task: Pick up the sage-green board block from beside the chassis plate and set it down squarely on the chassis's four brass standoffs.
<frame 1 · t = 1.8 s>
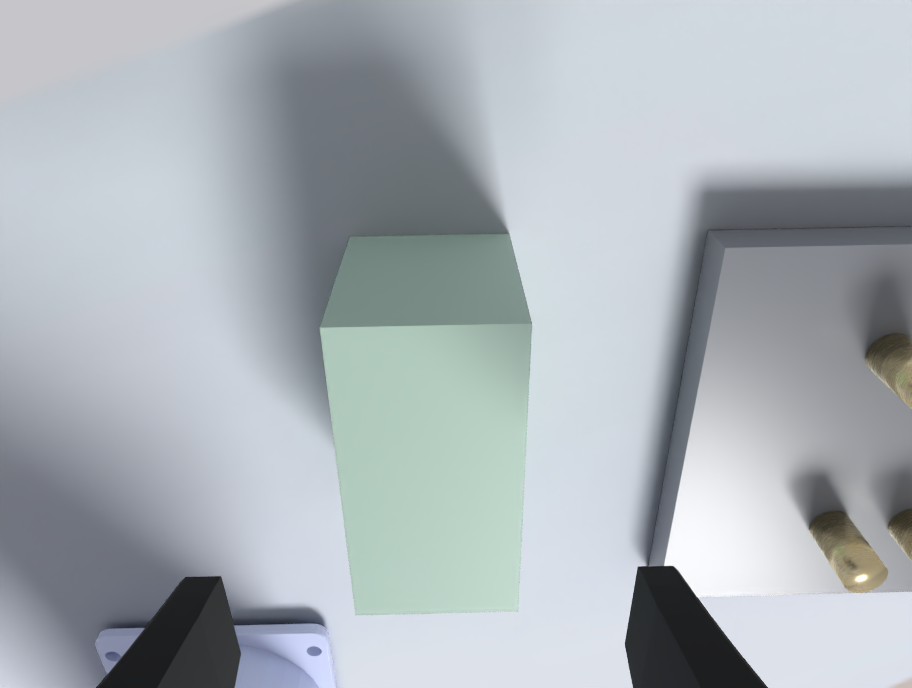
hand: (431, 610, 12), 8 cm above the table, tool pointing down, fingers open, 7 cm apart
board block: (434, 368, 19), on the table
chassis: (875, 420, 20), on the table
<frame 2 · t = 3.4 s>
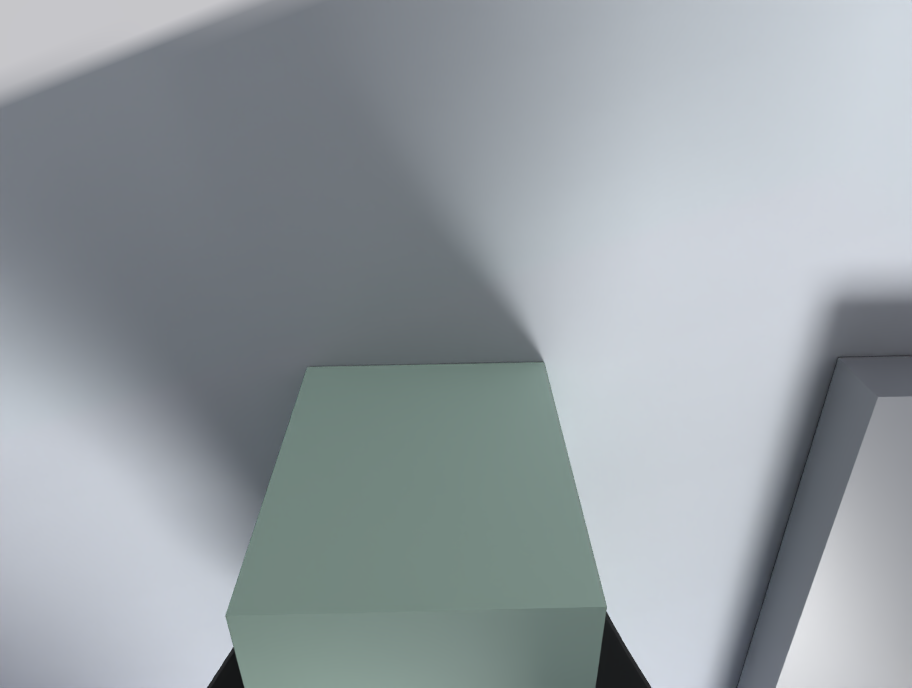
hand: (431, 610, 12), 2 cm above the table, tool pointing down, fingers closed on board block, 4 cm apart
board block: (432, 537, 13), on the table, touching gripper
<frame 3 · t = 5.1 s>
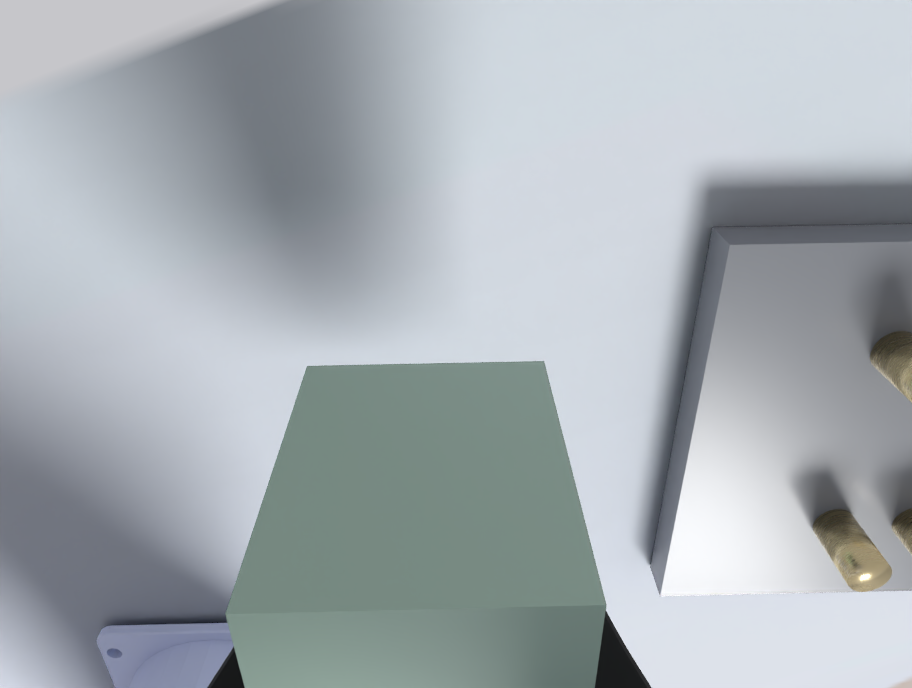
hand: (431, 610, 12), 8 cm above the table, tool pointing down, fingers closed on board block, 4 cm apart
board block: (432, 536, 13), point 6 cm above the table, touching gripper
chassis: (880, 418, 20), on the table
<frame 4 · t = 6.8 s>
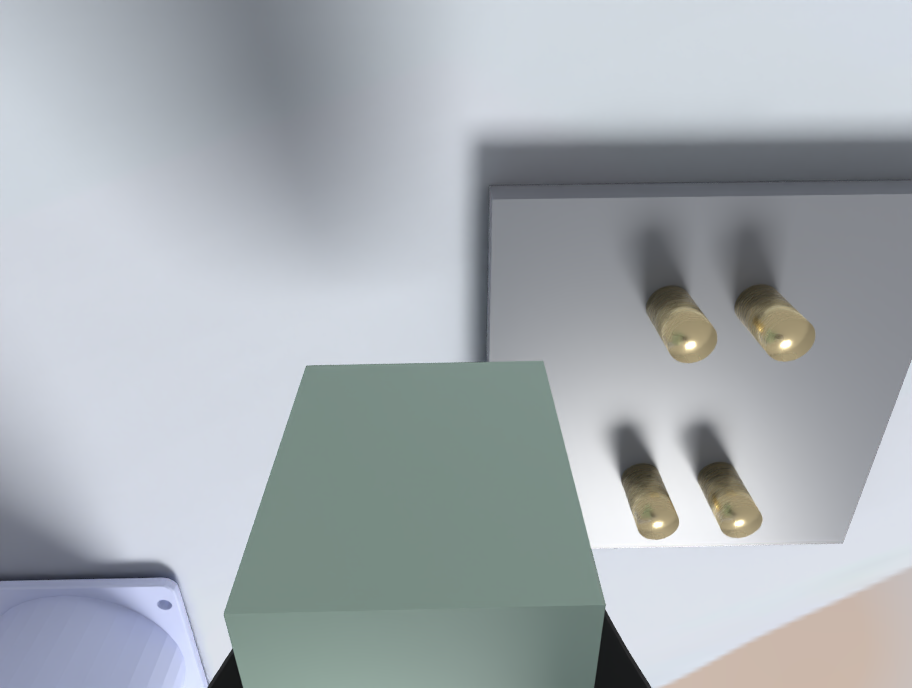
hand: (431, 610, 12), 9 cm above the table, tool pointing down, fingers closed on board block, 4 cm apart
board block: (432, 536, 13), point 8 cm above the table, touching gripper
chassis: (681, 375, 21), on the table
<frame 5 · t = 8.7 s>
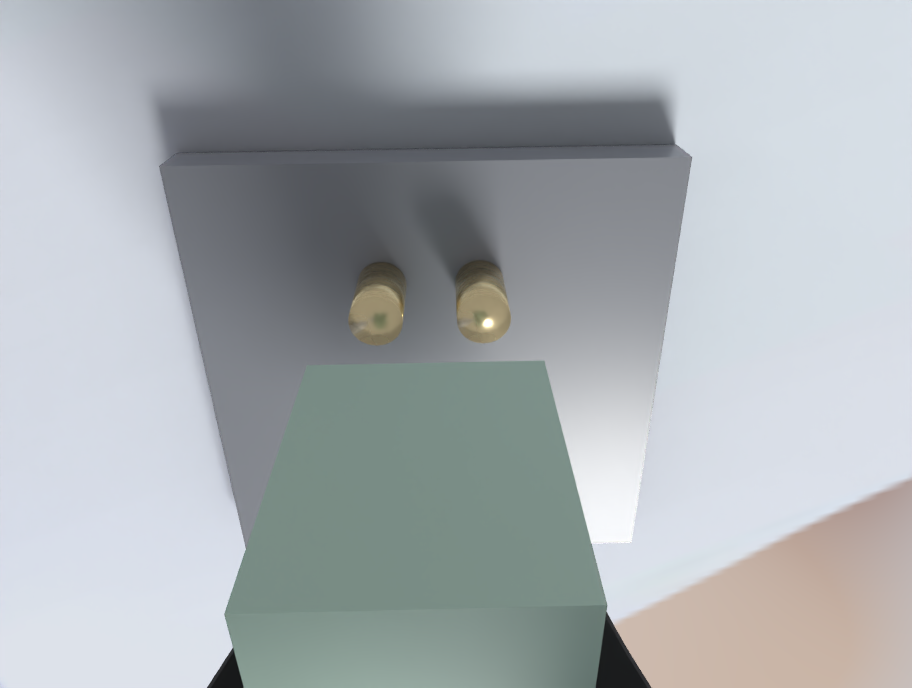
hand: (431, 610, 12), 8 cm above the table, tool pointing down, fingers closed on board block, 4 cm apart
board block: (432, 536, 13), point 7 cm above the table, touching gripper
chassis: (434, 362, 19), on the table
when the fingers open (6 cm above the table, at t = 10.2 s): board block drops 1 cm, resting on chassis.
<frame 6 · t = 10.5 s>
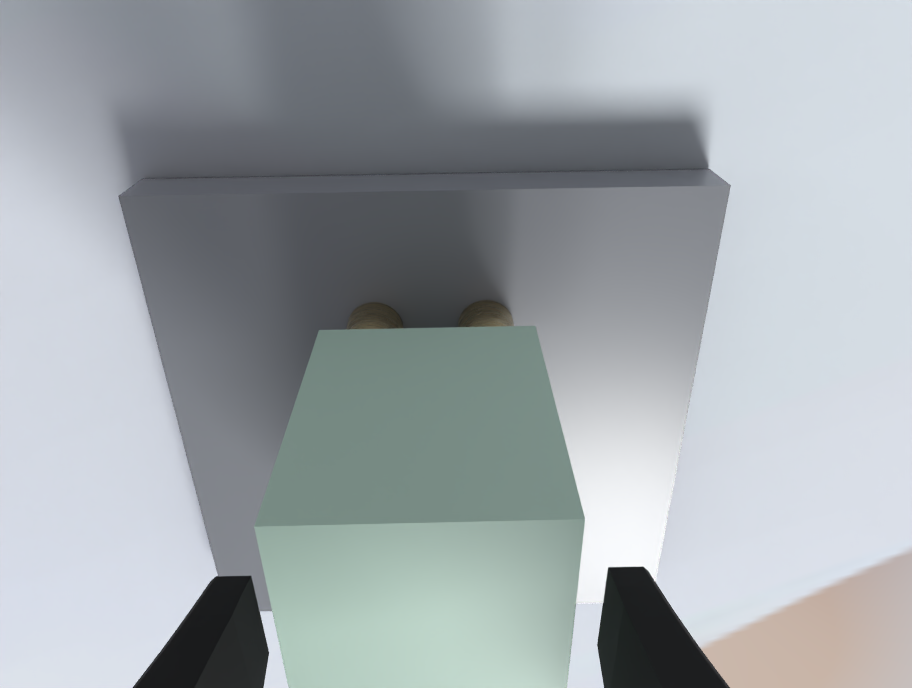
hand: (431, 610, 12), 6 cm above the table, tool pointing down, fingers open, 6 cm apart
board block: (433, 492, 15), point 3 cm above the table, touching chassis
chassis: (434, 407, 17), on the table
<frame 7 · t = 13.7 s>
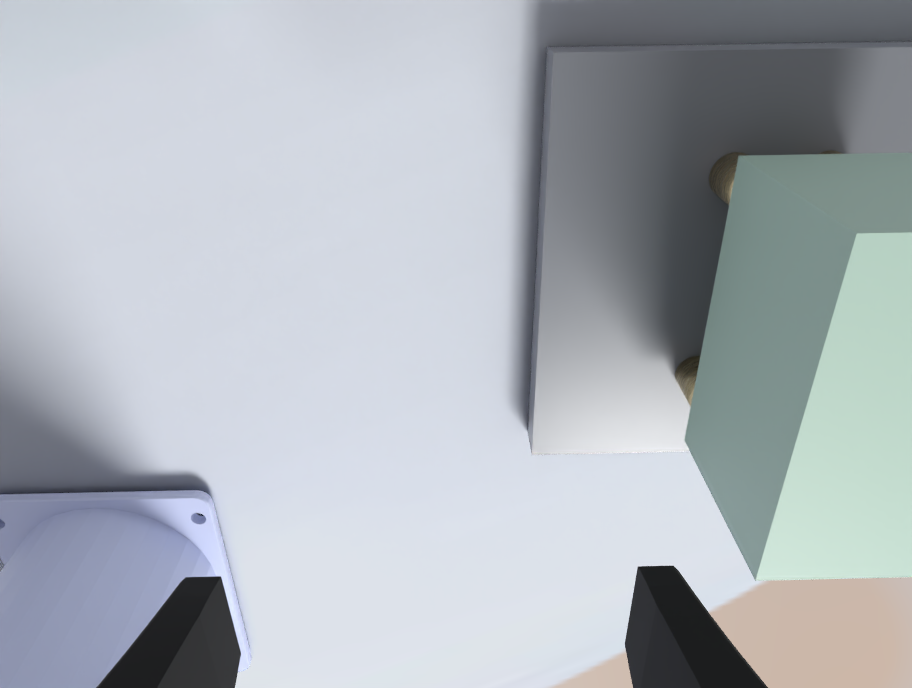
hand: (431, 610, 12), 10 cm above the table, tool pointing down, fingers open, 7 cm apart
board block: (786, 312, 17), point 3 cm above the table, touching chassis
chassis: (738, 264, 20), on the table
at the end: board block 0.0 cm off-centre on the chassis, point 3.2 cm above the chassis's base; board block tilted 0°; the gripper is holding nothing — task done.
